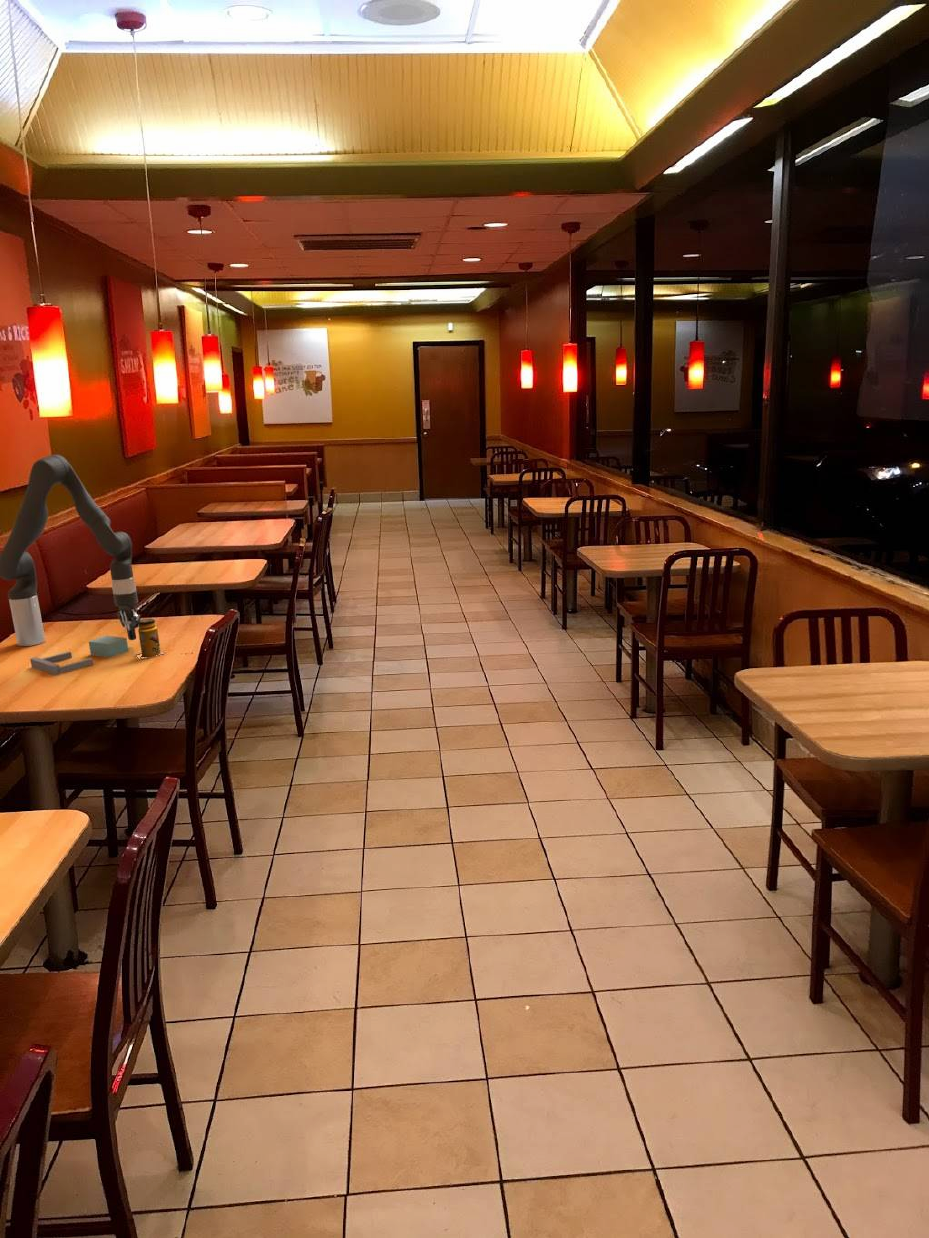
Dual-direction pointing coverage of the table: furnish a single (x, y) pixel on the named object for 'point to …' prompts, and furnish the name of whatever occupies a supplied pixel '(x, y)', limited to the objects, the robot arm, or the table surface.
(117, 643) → the carton
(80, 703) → the table surface
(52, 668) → the grey u-shaped bracket
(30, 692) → the table surface
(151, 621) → the condiment
